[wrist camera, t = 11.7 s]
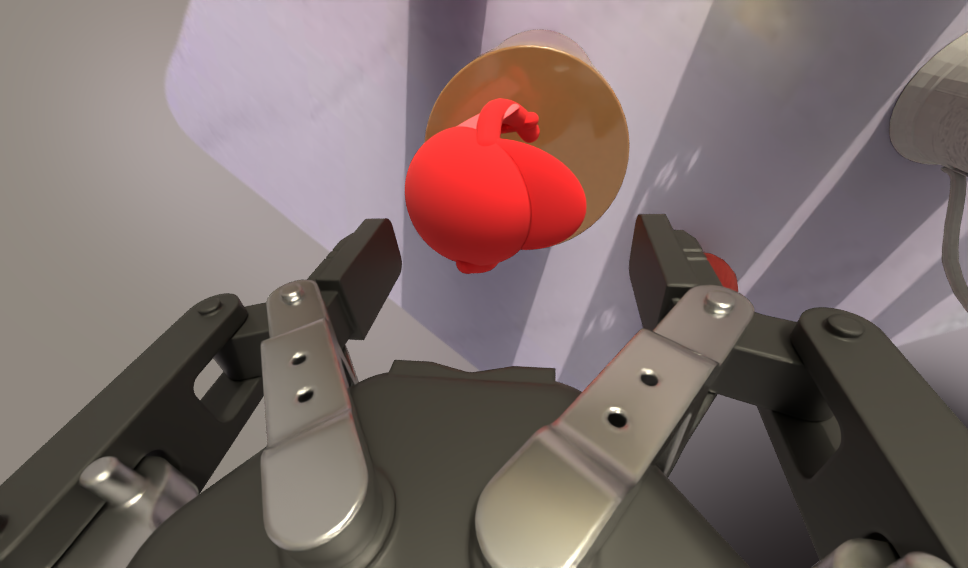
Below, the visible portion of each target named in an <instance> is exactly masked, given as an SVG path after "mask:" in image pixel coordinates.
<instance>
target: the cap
mask: <svg viewBox="0 0 968 568" xmlns="http://www.w3.org/2000/svg"><path fill="white" fill-rule="evenodd" d="M538 121H539V117H538V115H537V114H536V113H534V112H528V111H527V110H526V109H525V108H523V107H522V106H521V105H520V104H518V103H516V102H514V101H511V100H508V99H502V98H499V99H495V100H492V101H490V102H488V103H487V104H486V105H485V106H484V107H483V108H482V110H481V112H480V114H478V115H476V116H474V117H472V118H470V119H468V120H466V121H465V122H463V123H461V124H460V125H458V126H456V127H452V128H448V129H446V130H443V131H441V132H439V133H437V134H436V135H434V136H433V137H431V138H430V139H429V140H427V141H426V142H425V143H424V144H423V145H422V146H421V147H420V149H419V150H418V151H417V153H416V154H415V156H414V157H413V159H412V161H411V163H410V166H409V169H408V172H407V176H406V181H405V200H406V206H407V210H408V213H409V216H410V219H411V221H412V223H413V225H414V227H415V229H416V231H417V232H418V233H419V235H420V236H421V237H422V239H423V240H424V241H425V242H426V243H427V244H428V245H429V246H430V247H431V248H432V249H433V250H435V251H436V252H437V253H439V254H441V255H442V256H444V257H446V258H448V259H450V260H452V261H455V262H456V266H457V268H458V270H459V271H461V272H462V273H465V274H471V273H484V272H487V271H490V270H492V269H493V268H494V267H495V266H496V265H497V264H498V263H499V262H502V261H504V260H506V259H508V258H510V257H512V256H514V255H515V254H516V253H517V252H518V251H519V250H532V249H540V248H546V247H550V246H553V245H556V244H558V243H560V242H562V241H564V240H566V239H567V238H569V237H570V236H572V235H573V234H574V233H575V232H576V231H577V230H578V229H579V227H580V226H581V224H582V222H583V220H584V218H585V214H586V197H585V193H584V191H583V188H582V186H581V184H580V182H579V181H578V179H577V178H576V176H575V175H574V174H573V173H572V172H571V171H570V170H569V169H568V168H567V167H566V166H565V165H564V164H563V163H562V162H560V161H559V160H558V159H556V158H555V157H553V156H552V155H550V154H548V153H547V152H545V151H543V150H541V149H539V148H536V147H534V146H531V145H528V144H525V143H522V142H518V141H514V140H508V139H500V135H501V134H503V133H511V132H517V133H518V135H519V136H520V137H521V138H522V140H523V141H525V142H527V143H532V142H534V141H536V140H537V139H538V137H539V134H540V130H539V127H538V125H537V124H538Z"/></svg>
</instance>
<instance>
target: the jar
mask: <svg viewBox="0 0 968 568" xmlns="http://www.w3.org/2000/svg"><path fill="white" fill-rule="evenodd" d="M499 98H502V99H508V100H511V101H514V102H516V103H518V104H520V105H521V106H522V107H523V108H525V109H526V110H527V111H528V112H534V113H536V114H537V115H538V117H539V121H538V124H537V125H538V127H539V130H540V134H539V137H538V139H537V140H536V141H534V142H532V143H527V142H525V141H523V140H522V138H521V137H520V136H519V135H518V133H517V132H511V133H503V134H501V135H500V139H508V140H514V141H518V142H522V143H525V144H528V145H531V146H534V147H536V148H539V149H541V150H543V151H545V152H547V153H548V154H550V155H552V156H553V157H555V158H556V159H558V160H559V161H560V162H562V163H563V164H564V165H565V166H566V167H567V168H568V169H569V170H570V171H571V172H572V173H573V174H574V175H575V176H576V178H577V179H578V181H579V182H580V184H581V186H582V188H583V191H584V193H585V197H586V214H585V218H584V220H583V222H582V224H581V226H580V227H579V229H578V230H577V231H576V232H575V233H574V234H573V235H572V236H570V237H569V238H567V239H566V240H564V241H562V242H560V243H563V242H565V241H568V240H570V239H572V238H574V237H575V236H577V235H579V234H581V233H582V232H584V231H585V230H586V229H588V228H589V227H591V226H592V225H593V224H594V223H595V222H596V221H597V220H598V219H599V218H600V217H601V216H602V215H603V214H604V213H605V211H606V210H607V209H608V208H609V206H610V205H611V203H612V202H613V200H614V199H615V197H616V195H617V193H618V191H619V189H620V187H621V185H622V182H623V179H624V177H625V174H626V169H627V164H628V160H629V132H628V127H627V122H626V118H625V115H624V112H623V109H622V107H621V104H620V102H619V100H618V98H617V97H616V95H615V93H614V91H613V90H612V88H611V86H610V84H609V83H608V82H607V80H606V79H605V78H604V76H603V75H602V74H601V72H599V71H598V70H597V69H596V68H595V67H594V66H593V65H592V63H591V61H590V59H589V57H588V56H587V54H586V53H585V52H584V50H583V49H582V48H581V47H580V46H579V45H578V44H577V43H576V42H574V41H573V40H572V39H570V38H569V37H567V36H565V35H563V34H561V33H558V32H554V31H551V30H543V29H540V30H529V31H524V32H521V33H518V34H516V35H514V36H512V37H510V38H508V39H506V40H505V41H504V42H502V43H501V44H500V45H499V46H497V47H496V48H494V49H491V50H490V51H488V52H486V53H484V54H482V55H480V56H478V57H477V58H475V59H474V60H473V61H471V62H470V63H468V64H467V65H466V66H465V67H463V68H462V69H461V70H460V71H459V72H458V73H457V74H456V75H455V76H454V77H453V78H452V79H451V80H450V81H449V82H448V84H447V85H446V86H445V87H444V89H443V90H442V91H441V93H440V95H439V97H438V98H437V100H436V102H435V104H434V106H433V109H432V111H431V113H430V116H429V120H428V123H427V127H426V133H425V141H424V143H425V142H426V141H427V140H429V139H430V138H431V137H433V136H434V135H436V134H437V133H439V132H441V131H443V130H446V129H448V128H452V127H456V126H458V125H460V124H461V123H463V122H465V121H466V120H468V119H470V118H472V117H474V116H476V115H478V114H480V112H481V110H482V108H483V107H484V106H485V105H486V104H487V103H488V102H490V101H492V100H495V99H499ZM560 243H558V244H560ZM556 245H557V244H556ZM553 246H554V245H553Z"/></svg>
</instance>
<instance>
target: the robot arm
mask: <svg viewBox="0 0 968 568" xmlns="http://www.w3.org/2000/svg"><path fill="white" fill-rule="evenodd" d="M401 268H402V260H401V255H400V251H399V248H398V244H397V241H396V237H395V233H394V230H393V226H392V223H391V221H390V220H389V219H387V218H385V219H365V220H364V221H363V222H362V224H361V225H360V226H359V227H358V228H357V230H356V231H355V232H354V233H352V234H350V235H349V236H347V237H345V238H344V239H342V240H341V241H340V242H339V243H338V244H337V245H336V246H335V247H334V249H333V251H331V252H330V253H329V254H328V256H327V257H326V259H324V260H323V261H322V263H321V264H320V265H319V266H318V267H317V268H316V269H315V271H314V272H313V273H312V274H311V275H310V276H309V278H308V279H307V280H297V281H293V282H289V283H287V284H285V285H283V286H281V287H279V288H277V289H276V290H275V291H273V292H272V293H271V294H270V295H269V297H268V299H267V301H266V303H261V304H256V305H251V306H246V307H244V306H243V305H242V303H241V301H240V299H239V298H238V297H237V296H236V295H234V294H229V293H228V294H219V295H215V296H212V297H209V298H207V299H205V300H203V301H201V302H199V303H197V304H196V305H194V306H193V307H192V308H190V309H189V310H188V311H187V312H186V313H185V314H184V315H183V316H182V317H181V318H180V319H179V320H178V321H176V322H175V323H174V324H173V325H172V326H171V327H170V328H169V329H168V330H167V331H166V332H165V333H164V334H162V335H161V336H160V337H159V338H158V339H157V340H156V341H155V342H154V343H153V344H152V345H151V346H150V347H148V348H147V349H146V350H145V351H144V352H143V353H142V354H141V355H140V356H139V357H138V358H137V359H136V360H135V361H133V362H132V363H131V364H130V365H129V366H128V367H127V368H126V369H125V370H124V371H123V372H122V373H121V374H120V375H118V376H117V377H116V378H115V379H114V380H113V381H112V382H111V383H110V384H109V385H108V386H107V387H106V388H105V389H103V390H102V391H101V392H100V393H99V394H98V395H97V396H96V397H95V398H94V399H93V400H92V401H91V402H90V403H89V404H88V405H86V406H85V407H84V408H83V409H82V410H81V411H80V412H79V413H78V414H77V415H76V416H75V417H73V418H72V419H71V420H70V421H69V422H68V423H67V424H66V425H65V426H64V427H63V428H62V429H61V430H60V431H58V432H57V433H56V434H55V435H54V436H53V437H52V438H51V439H50V440H49V441H48V442H47V443H46V444H45V445H43V446H42V447H41V448H40V449H39V450H38V451H37V452H36V453H35V454H34V455H33V456H32V457H31V458H30V459H28V460H27V461H26V462H25V463H24V464H23V465H22V466H21V467H20V468H19V469H18V470H17V471H16V472H15V473H14V474H13V475H12V476H10V477H9V478H8V479H7V480H6V481H5V482H4V483H3V484H2V485H1V486H0V568H750V567H749V565H748V564H747V563H746V562H745V561H744V560H743V559H742V558H741V557H740V556H739V555H738V554H737V553H736V552H735V550H734V549H733V548H732V547H731V546H730V545H729V544H728V543H727V542H726V541H725V540H724V538H722V536H721V535H720V534H719V533H718V532H717V531H716V530H715V529H714V528H713V527H712V526H711V525H710V523H709V522H708V521H707V520H706V519H705V518H704V517H703V516H702V515H701V514H700V513H699V512H698V510H697V509H696V508H695V507H694V506H693V505H692V504H691V503H690V502H689V501H688V500H687V499H686V497H685V496H684V495H683V494H682V493H681V492H680V491H679V490H678V489H677V488H676V487H675V486H674V484H673V483H672V482H671V481H670V480H669V479H668V477H669V475H670V473H671V472H672V470H673V468H674V466H675V464H676V463H677V461H678V459H679V457H680V455H681V453H682V451H683V449H684V448H685V446H686V444H687V442H688V441H689V439H690V437H691V436H692V434H693V432H694V431H695V429H696V427H697V426H698V424H699V423H700V421H701V420H702V418H703V417H704V415H705V413H706V412H707V410H708V409H709V407H710V405H711V404H712V402H713V400H714V399H715V397H716V396H717V394H720V395H724V396H726V397H730V398H733V399H736V400H739V401H743V402H746V403H749V404H753V405H756V406H757V408H758V410H759V413H760V415H761V418H762V420H763V423H764V425H765V427H766V430H767V432H768V435H769V437H770V440H771V442H772V444H773V447H774V449H775V452H776V454H777V457H778V459H779V461H780V464H781V466H782V469H783V471H784V474H785V476H786V478H787V481H788V484H789V486H790V488H791V491H792V493H793V496H794V498H795V501H796V503H797V505H798V508H799V510H800V513H801V515H802V517H803V520H804V522H805V525H806V527H807V530H808V532H809V535H810V537H811V540H812V542H813V544H814V547H815V549H816V552H817V554H818V557H819V559H820V561H819V562H818V563H817V564H815V565H814V566H813V567H812V568H968V429H967V428H966V427H965V426H964V425H963V423H962V422H961V421H960V420H959V419H958V418H957V417H956V415H955V414H954V413H953V412H952V411H951V410H950V408H949V407H947V405H946V404H945V403H944V402H943V400H942V399H941V398H940V397H939V396H938V395H937V393H936V392H935V391H934V390H933V389H932V388H931V387H930V385H929V384H928V383H927V382H926V381H925V380H924V378H923V377H922V376H921V375H920V374H919V373H918V371H917V370H916V369H915V368H914V367H913V366H912V365H911V364H910V362H909V361H908V360H907V359H906V358H905V357H904V355H903V354H902V353H901V352H900V351H899V350H898V348H897V347H896V346H895V345H894V344H893V343H892V341H891V340H890V339H889V338H888V337H887V336H886V335H885V333H884V332H883V331H882V330H881V329H880V328H878V327H877V326H876V325H875V324H873V323H872V322H870V321H868V320H866V319H864V318H863V317H860V316H858V315H856V314H853V313H850V312H847V311H844V310H840V309H834V308H826V307H819V308H812V309H808V310H806V311H805V312H803V313H802V315H801V316H800V318H799V320H798V322H794V321H789V320H785V319H780V318H775V317H771V316H766V315H762V314H759V313H756V312H754V307H753V305H752V303H751V302H750V301H749V300H748V299H747V298H746V297H745V296H743V295H742V294H740V293H738V292H736V291H734V290H732V289H729V288H726V287H723V285H722V283H721V282H720V280H719V278H718V276H717V275H716V273H715V271H714V269H713V268H712V266H711V264H710V262H709V261H708V260H707V257H706V255H705V254H704V252H702V248H701V247H700V245H699V243H698V241H697V240H696V239H695V238H694V237H693V236H691V235H690V234H688V233H687V232H685V231H684V230H673V228H672V226H671V224H670V222H669V220H668V218H667V216H666V215H665V214H639V215H638V216H637V219H636V223H635V229H634V235H633V241H632V247H631V253H630V260H629V275H630V280H631V283H632V287H633V291H634V295H635V299H636V302H637V306H638V310H639V314H640V318H641V321H642V325H643V328H642V329H641V330H639V331H638V332H637V333H636V335H635V336H634V337H633V338H632V339H631V340H630V341H629V342H628V343H627V344H626V345H625V346H624V348H623V349H622V350H621V351H620V352H619V353H618V354H617V355H616V356H615V357H614V358H613V359H612V361H611V362H610V363H609V364H608V365H607V366H606V367H605V368H604V369H603V370H602V371H601V372H600V373H599V375H598V376H597V377H596V378H595V379H594V380H593V381H592V382H591V383H590V384H589V385H588V386H587V388H586V389H585V390H584V391H583V392H581V391H579V390H577V389H575V388H573V387H571V386H568V385H566V384H563V383H560V382H556V381H555V368H538V367H520V366H511V367H505V368H498V369H492V370H485V371H479V372H465V371H462V370H458V369H455V368H451V367H448V366H444V365H441V364H437V363H434V362H426V361H406V360H394V362H393V364H392V367H391V369H390V371H389V372H388V373H383V374H379V375H375V376H373V377H370V378H367V379H365V380H363V381H361V382H359V381H358V378H357V376H356V373H355V370H354V367H353V364H352V361H351V358H350V355H349V352H348V350H347V348H346V345H345V344H346V342H347V341H348V339H352V340H364V339H365V337H366V335H367V333H368V331H369V330H370V328H371V326H372V324H373V322H374V321H375V319H376V317H377V315H378V313H379V311H380V309H381V308H382V306H383V304H384V302H385V301H386V299H387V297H388V295H389V293H390V291H391V290H392V288H393V286H394V284H395V282H396V281H397V279H398V277H399V275H400V273H401ZM212 359H214V360H215V361H216V362H217V364H218V365H219V366H220V367H221V369H222V370H223V371H224V372H223V373H222V374H221V376H220V377H219V378H218V379H217V380H216V382H215V383H214V384H213V385H212V387H211V388H210V389H209V390H208V392H207V393H206V394H205V395H204V397H203V398H202V399H201V400H199V399H198V398H197V397H196V395H195V393H194V390H193V387H194V382H195V379H196V378H197V376H198V375H199V373H200V372H201V371H202V370H203V369H204V368H205V367H206V365H207V364H208V363H209V362H210V361H211V360H212ZM263 396H264V404H265V418H266V431H267V432H266V433H267V447H265V448H264V449H262V450H261V451H260V452H258V453H257V454H255V455H254V456H253V457H251V458H250V459H249V460H247V461H246V462H244V463H243V464H241V465H240V466H239V467H237V468H236V469H234V470H233V471H232V472H230V473H229V474H227V475H226V476H224V477H223V478H222V479H220V480H219V481H217V482H216V483H215V484H213V485H212V486H210V487H209V488H208V489H206V490H205V491H203V492H202V493H201V494H200V492H201V491H202V489H203V488H204V486H205V485H206V483H207V482H208V480H209V479H210V477H211V476H212V474H213V473H214V471H215V470H216V468H217V466H218V465H219V463H220V462H221V460H222V459H223V457H224V456H225V454H226V452H227V451H228V450H229V448H230V447H231V445H232V444H233V442H234V441H235V439H236V437H237V436H238V434H239V432H240V431H241V430H242V428H243V427H244V425H245V424H246V422H247V420H248V419H249V418H250V416H251V415H252V413H253V411H254V410H255V408H256V407H257V405H258V404H259V402H260V401H261V399H262V398H263Z"/></svg>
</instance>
